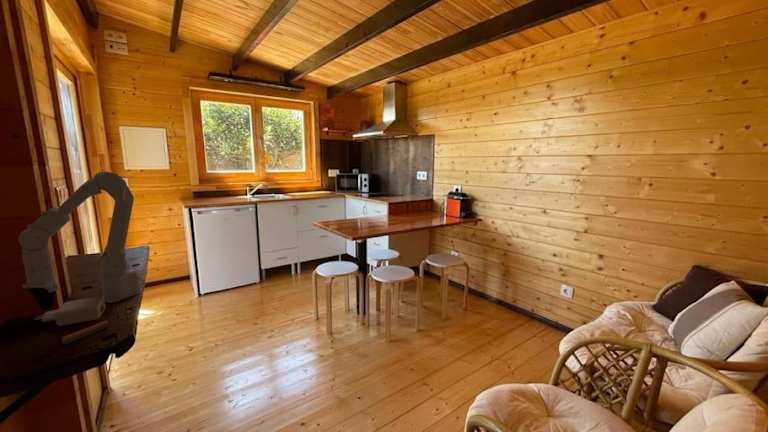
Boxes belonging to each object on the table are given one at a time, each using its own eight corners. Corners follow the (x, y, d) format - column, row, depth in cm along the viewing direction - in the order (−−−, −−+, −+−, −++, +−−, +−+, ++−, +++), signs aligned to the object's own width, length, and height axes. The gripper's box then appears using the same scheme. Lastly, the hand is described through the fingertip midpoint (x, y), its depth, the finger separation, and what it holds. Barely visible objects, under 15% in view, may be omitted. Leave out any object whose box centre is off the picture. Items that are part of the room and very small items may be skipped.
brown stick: (107, 326, 95) (106, 320, 94) (109, 326, 94) (108, 321, 94) (62, 343, 86) (61, 337, 85) (65, 344, 85) (63, 338, 85)
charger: (43, 318, 99) (106, 308, 106) (29, 333, 91) (98, 320, 98) (40, 304, 98) (104, 294, 105) (26, 317, 90) (96, 306, 97)
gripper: (9, 267, 97) (18, 309, 100) (31, 275, 92) (40, 319, 94) (41, 261, 104) (48, 300, 106) (63, 268, 98) (71, 309, 100)
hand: (46, 308), depth 101 cm, fingers closed
